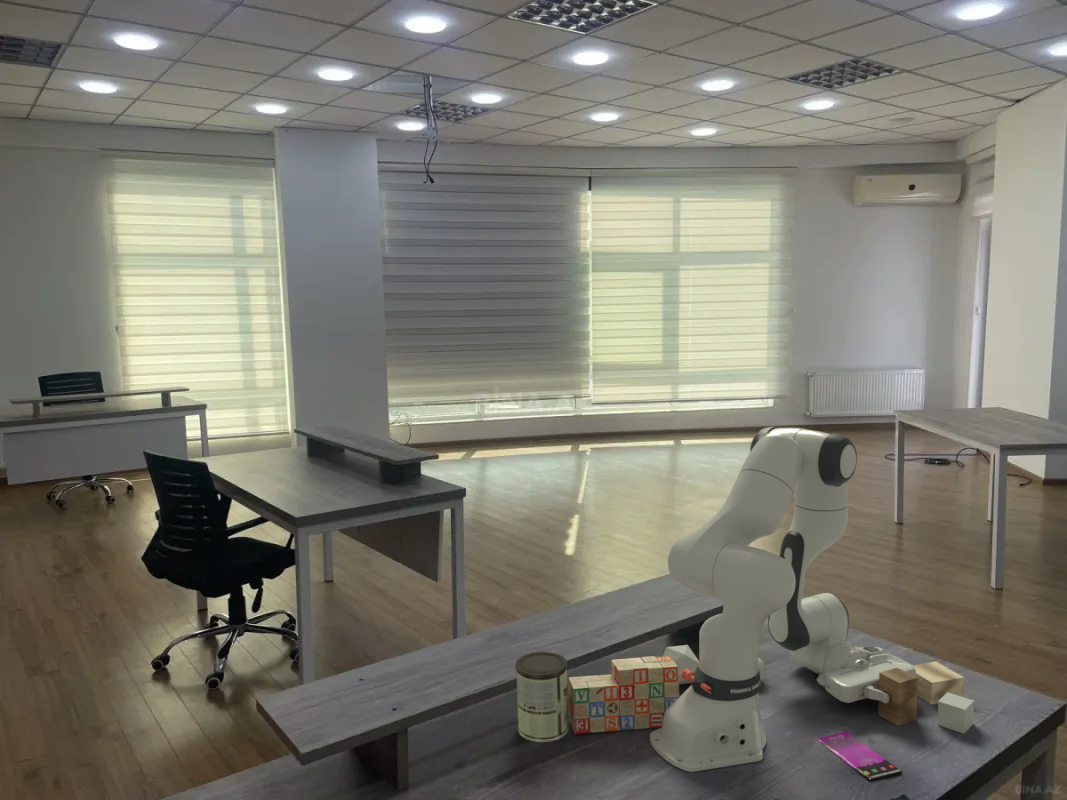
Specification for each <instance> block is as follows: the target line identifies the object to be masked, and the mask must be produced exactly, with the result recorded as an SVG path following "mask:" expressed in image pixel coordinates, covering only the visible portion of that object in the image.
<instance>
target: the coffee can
mask: <svg viewBox="0 0 1067 800" xmlns="http://www.w3.org/2000/svg"><path fill="white" fill-rule="evenodd" d="M567 668H568V660H567V659H566V658H565V656H563V655H561V654H558V653H556V652H550V651H536V652H529V653H526V654H525V655H522V656H520V657H519V658H517V659H516V662H515V670H516V696H517V697H516V698H517V702H516V703H517V731H518V732H517V733H518V734H519V735H520V736H521V738H523V739H524V740H527V741H529V742H534V743H550V742H551V743H552V742H555V741H558V740H560V739H562V738H564V737H565V736H566V735H567V734H568V732H569V727H570V726H569V712H568V711H569V708H568V707H569V701H568V673H567V672H568V670H567Z"/></svg>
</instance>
